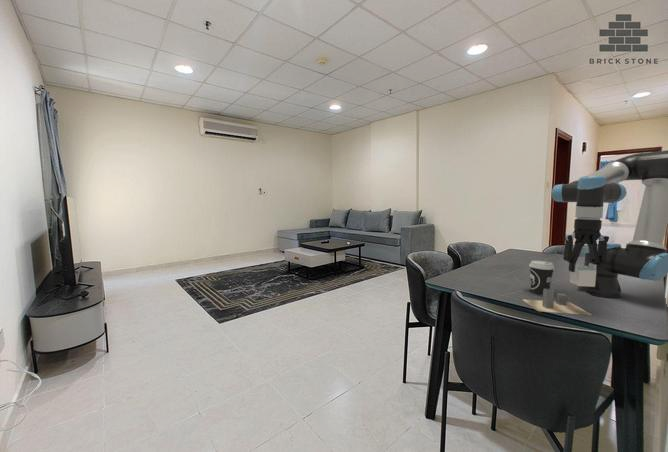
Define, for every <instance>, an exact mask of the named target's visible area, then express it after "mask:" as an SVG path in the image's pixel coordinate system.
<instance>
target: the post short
mask: <svg viewBox="0 0 668 452" xmlns="http://www.w3.org/2000/svg"><path fill="white" fill-rule="evenodd" d="M555 301H556V303H557V304H558V305H567V302H568V295H567V294H565V293H562V292H561V293H560V292H555Z"/></svg>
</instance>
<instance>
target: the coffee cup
mask: <svg viewBox="0 0 668 452" xmlns="http://www.w3.org/2000/svg"><path fill="white" fill-rule="evenodd" d="M528 267H529V271H530V272H529V275H530V276H529V277H530V278H529V279H530V281H529V282H530V292H531V293H532V294H536V295H541V296H543V290H544V288H545V289H551V285H552V279H553V274H554V270H555V266H554V264H553V263H552V262H549V261H544V260H531V262H530V263H529V265H528Z"/></svg>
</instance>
